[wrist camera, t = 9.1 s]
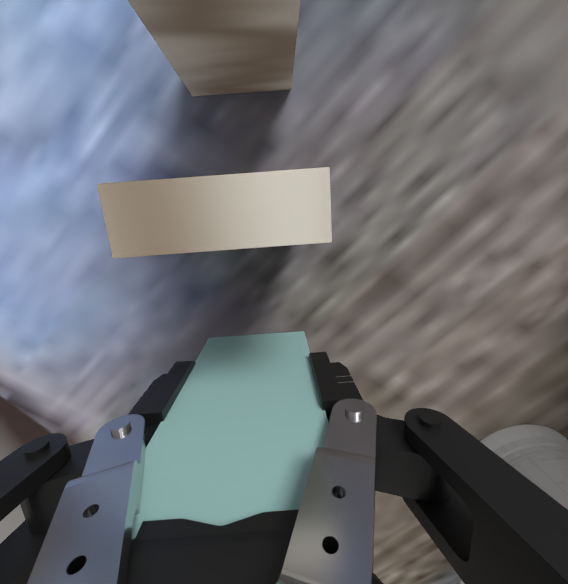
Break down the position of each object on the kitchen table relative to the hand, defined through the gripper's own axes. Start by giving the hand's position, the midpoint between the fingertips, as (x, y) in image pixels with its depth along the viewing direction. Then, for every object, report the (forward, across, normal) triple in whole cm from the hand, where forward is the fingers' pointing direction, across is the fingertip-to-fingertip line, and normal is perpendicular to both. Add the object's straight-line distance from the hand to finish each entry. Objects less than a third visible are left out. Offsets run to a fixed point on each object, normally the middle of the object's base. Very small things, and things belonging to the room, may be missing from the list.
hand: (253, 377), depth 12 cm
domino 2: (+5, 0, -7) cm, 9 cm away
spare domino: (+3, 0, 0) cm, 3 cm away
